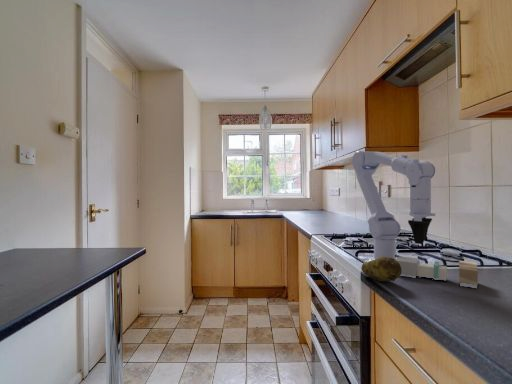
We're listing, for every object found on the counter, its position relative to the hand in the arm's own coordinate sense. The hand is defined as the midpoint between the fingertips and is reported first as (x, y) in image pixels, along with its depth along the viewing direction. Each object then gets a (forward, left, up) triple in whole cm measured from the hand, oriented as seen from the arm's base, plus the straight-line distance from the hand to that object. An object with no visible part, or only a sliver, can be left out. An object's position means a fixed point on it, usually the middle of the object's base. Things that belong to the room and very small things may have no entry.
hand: (420, 241), depth 88 cm
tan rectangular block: (+3, +12, -10) cm, 16 cm away
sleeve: (+3, -3, -10) cm, 11 cm away
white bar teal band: (+3, +1, -10) cm, 11 cm away
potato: (+15, -8, -11) cm, 21 cm away
